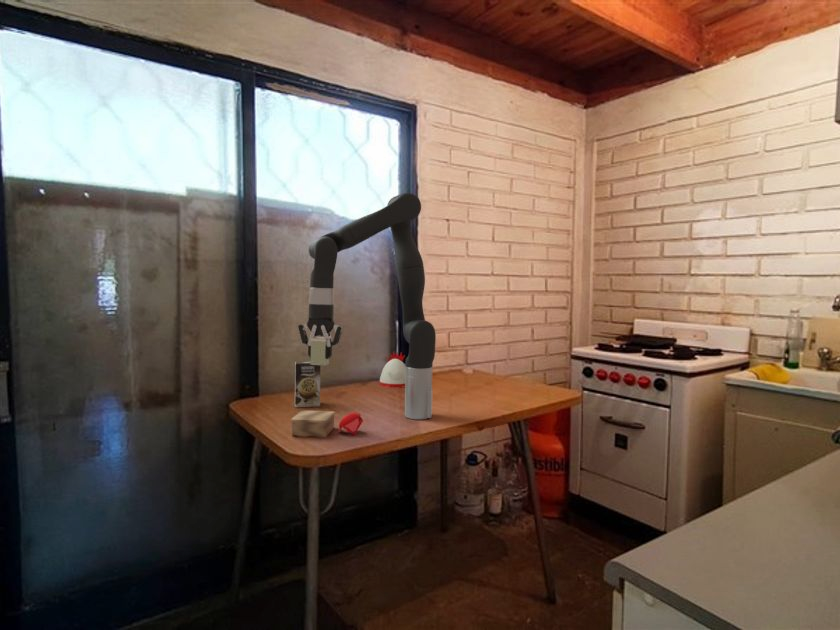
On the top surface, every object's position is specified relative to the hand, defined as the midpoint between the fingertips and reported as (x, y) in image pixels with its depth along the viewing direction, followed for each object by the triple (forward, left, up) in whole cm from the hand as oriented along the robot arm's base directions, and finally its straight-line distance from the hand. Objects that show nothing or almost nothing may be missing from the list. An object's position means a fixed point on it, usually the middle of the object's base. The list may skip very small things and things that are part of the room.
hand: (319, 357), depth 153 cm
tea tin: (0, 0, -2) cm, 2 cm away
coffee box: (+13, -28, -22) cm, 38 cm away
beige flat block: (+1, +4, -22) cm, 22 cm away
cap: (-11, +3, -22) cm, 25 cm away
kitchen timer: (-14, -71, -22) cm, 76 cm away
